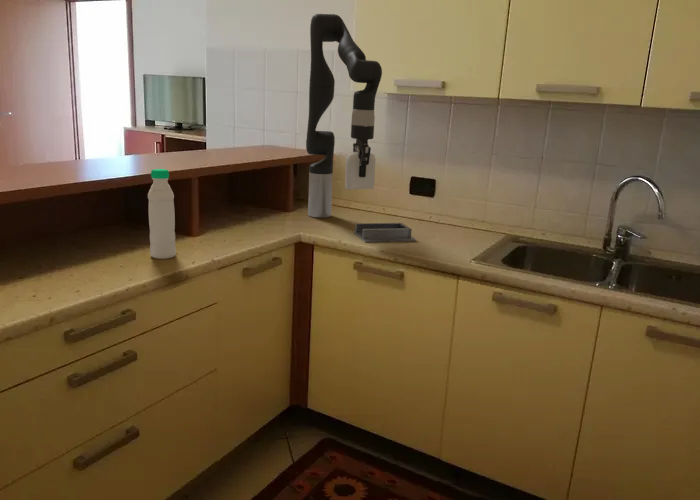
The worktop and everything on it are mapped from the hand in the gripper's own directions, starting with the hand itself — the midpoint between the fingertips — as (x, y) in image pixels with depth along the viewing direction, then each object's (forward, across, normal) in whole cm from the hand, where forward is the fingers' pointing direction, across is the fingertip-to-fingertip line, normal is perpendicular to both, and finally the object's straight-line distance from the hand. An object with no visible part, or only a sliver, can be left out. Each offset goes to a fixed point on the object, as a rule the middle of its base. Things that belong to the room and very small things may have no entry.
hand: (360, 175), depth 196 cm
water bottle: (+22, +19, -63) cm, 69 cm away
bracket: (+21, 0, +10) cm, 23 cm away
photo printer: (+5, 0, 0) cm, 5 cm away
